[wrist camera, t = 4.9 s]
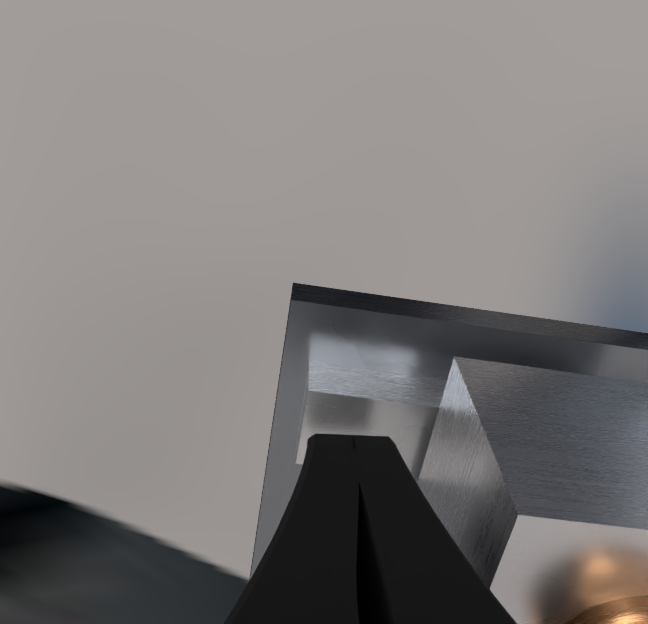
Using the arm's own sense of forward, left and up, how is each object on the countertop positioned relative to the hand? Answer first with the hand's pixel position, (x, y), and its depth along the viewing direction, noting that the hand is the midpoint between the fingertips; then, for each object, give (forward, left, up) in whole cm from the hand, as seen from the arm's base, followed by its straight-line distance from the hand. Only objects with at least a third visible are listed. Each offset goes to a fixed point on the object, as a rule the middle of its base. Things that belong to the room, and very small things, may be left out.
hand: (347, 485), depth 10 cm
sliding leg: (-4, +2, -2) cm, 5 cm away
